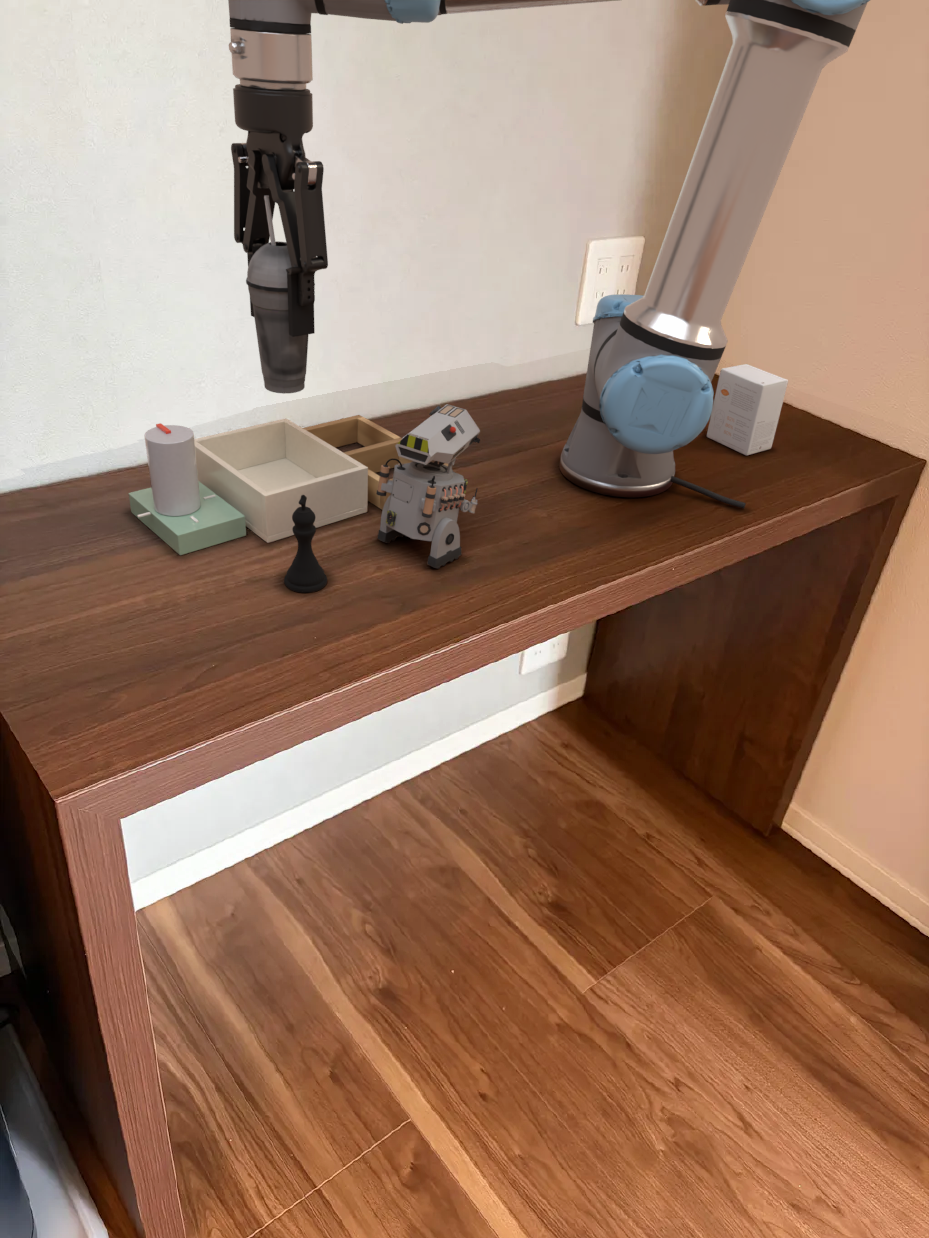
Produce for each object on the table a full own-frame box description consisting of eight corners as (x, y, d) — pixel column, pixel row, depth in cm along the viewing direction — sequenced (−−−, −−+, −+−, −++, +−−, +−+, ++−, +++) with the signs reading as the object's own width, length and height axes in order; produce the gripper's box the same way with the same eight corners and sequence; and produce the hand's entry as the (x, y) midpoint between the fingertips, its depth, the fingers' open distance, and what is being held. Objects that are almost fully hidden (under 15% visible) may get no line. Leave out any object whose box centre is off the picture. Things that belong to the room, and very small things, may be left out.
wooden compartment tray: (450, 490, 116) (451, 465, 114) (384, 511, 110) (385, 485, 108) (358, 438, 127) (359, 414, 125) (295, 454, 121) (294, 429, 119)
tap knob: (209, 509, 102) (201, 434, 97) (166, 520, 99) (157, 444, 94) (187, 492, 105) (179, 418, 100) (146, 503, 102) (135, 428, 97)
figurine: (494, 542, 105) (506, 417, 97) (425, 576, 98) (432, 445, 89) (435, 514, 110) (442, 393, 102) (366, 545, 102) (367, 417, 94)
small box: (771, 450, 134) (790, 380, 128) (745, 457, 131) (764, 385, 126) (730, 430, 140) (746, 362, 134) (704, 436, 137) (720, 367, 131)
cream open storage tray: (367, 512, 109) (368, 467, 106) (267, 543, 101) (264, 496, 98) (287, 460, 120) (286, 418, 117) (191, 485, 112) (187, 440, 109)
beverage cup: (303, 401, 101) (298, 206, 90) (241, 392, 102) (228, 198, 91) (325, 380, 107) (323, 195, 96) (266, 372, 108) (257, 187, 97)
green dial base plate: (246, 535, 102) (245, 514, 101) (166, 560, 97) (163, 538, 95) (195, 495, 110) (193, 475, 108) (117, 516, 104) (114, 494, 103)
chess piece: (278, 589, 94) (273, 501, 88) (292, 568, 97) (288, 482, 92) (319, 596, 93) (318, 507, 88) (332, 574, 97) (331, 488, 91)
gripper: (187, 73, 92) (206, 305, 105) (295, 96, 80) (302, 355, 93) (253, 74, 96) (264, 297, 109) (366, 96, 84) (363, 344, 97)
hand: (282, 324), depth 101 cm, fingers closed on beverage cup, 7 cm apart
